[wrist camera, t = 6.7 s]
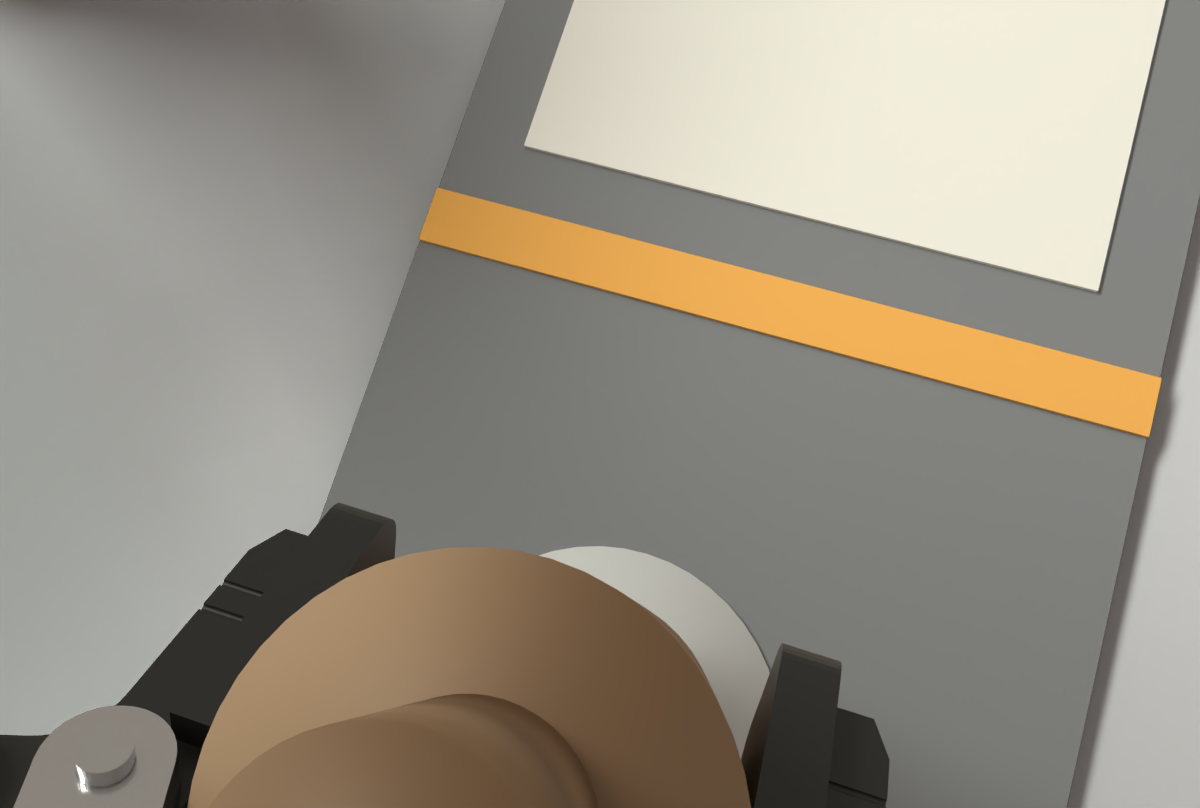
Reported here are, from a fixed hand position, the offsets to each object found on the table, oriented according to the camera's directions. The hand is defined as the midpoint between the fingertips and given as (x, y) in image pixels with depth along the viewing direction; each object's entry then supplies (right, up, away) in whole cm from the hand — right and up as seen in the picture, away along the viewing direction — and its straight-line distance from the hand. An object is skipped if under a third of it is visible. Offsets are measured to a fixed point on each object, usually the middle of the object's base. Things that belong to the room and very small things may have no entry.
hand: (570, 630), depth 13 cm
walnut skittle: (0, -3, +5) cm, 6 cm away
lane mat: (+3, +3, +8) cm, 9 cm away
